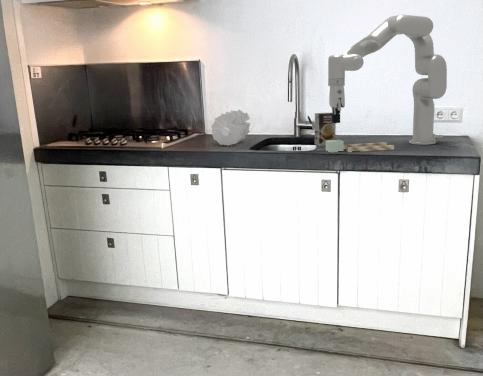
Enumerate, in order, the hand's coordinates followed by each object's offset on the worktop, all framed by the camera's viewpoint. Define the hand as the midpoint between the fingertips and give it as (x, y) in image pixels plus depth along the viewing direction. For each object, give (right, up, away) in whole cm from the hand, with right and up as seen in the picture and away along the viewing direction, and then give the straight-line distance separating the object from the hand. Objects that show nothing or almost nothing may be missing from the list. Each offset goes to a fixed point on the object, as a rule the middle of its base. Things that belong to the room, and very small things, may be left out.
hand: (336, 122), depth 238 cm
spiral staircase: (-49, -6, +41) cm, 64 cm away
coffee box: (-1, -8, +24) cm, 25 cm away
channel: (+16, -12, +5) cm, 20 cm away
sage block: (0, -13, +3) cm, 14 cm away
